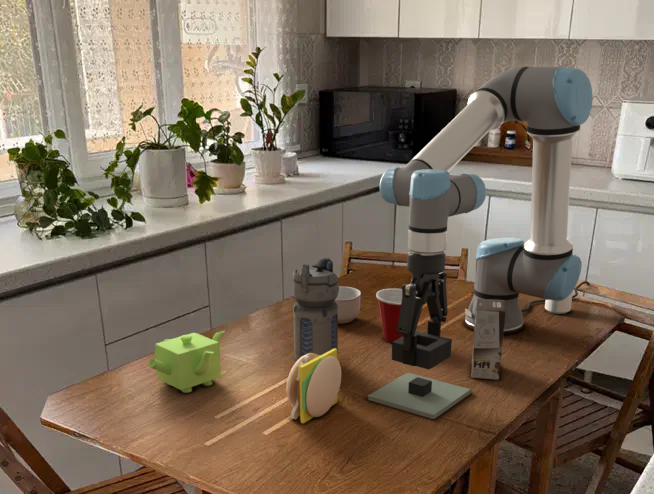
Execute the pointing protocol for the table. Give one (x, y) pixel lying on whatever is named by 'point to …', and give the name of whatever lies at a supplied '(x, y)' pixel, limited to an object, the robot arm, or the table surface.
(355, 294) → the teacup
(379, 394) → the base pad
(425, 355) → the dark gray square ring
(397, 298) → the plastic cup
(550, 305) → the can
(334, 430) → the table surface
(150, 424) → the table surface
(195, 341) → the kettle
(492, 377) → the coffee box
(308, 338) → the beverage bottle
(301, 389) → the hamburger
